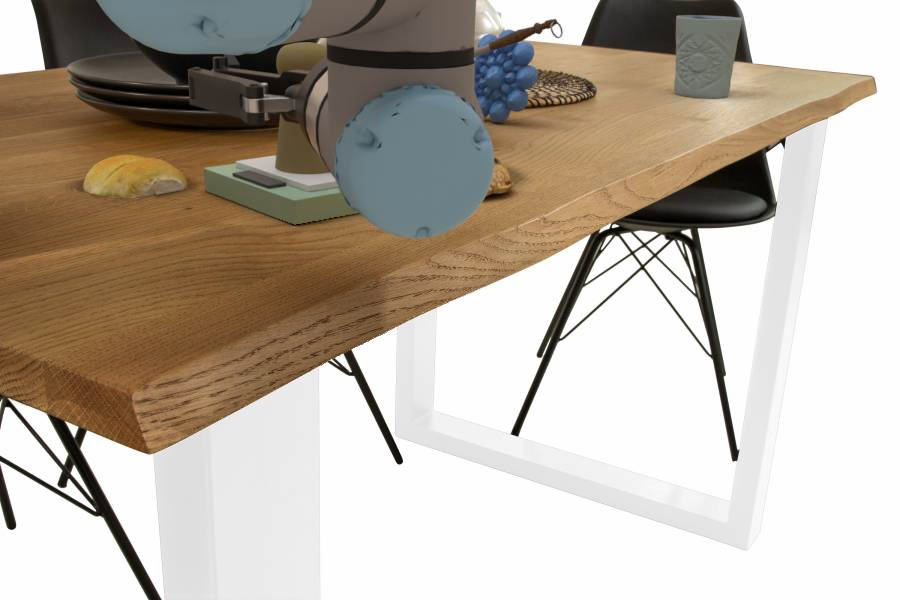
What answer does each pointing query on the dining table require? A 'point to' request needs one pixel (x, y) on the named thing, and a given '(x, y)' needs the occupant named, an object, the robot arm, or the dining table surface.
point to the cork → (291, 140)
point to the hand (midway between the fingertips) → (315, 71)
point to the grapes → (503, 77)
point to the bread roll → (133, 177)
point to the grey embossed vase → (705, 55)
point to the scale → (278, 190)
